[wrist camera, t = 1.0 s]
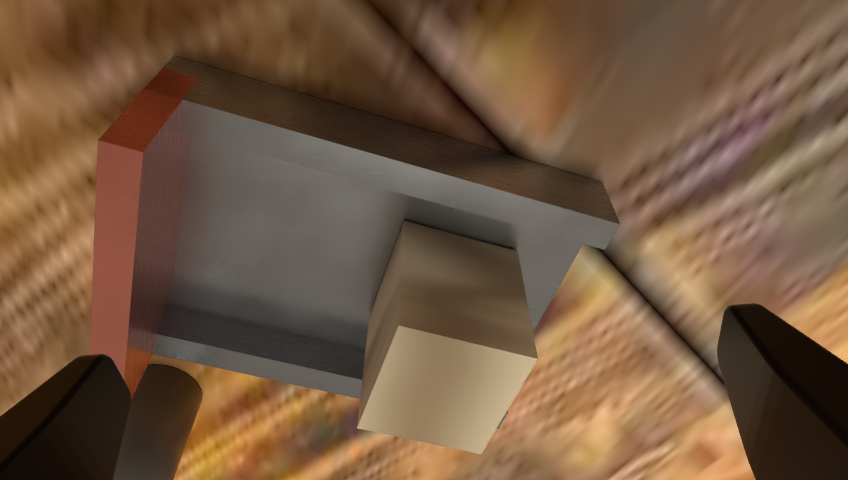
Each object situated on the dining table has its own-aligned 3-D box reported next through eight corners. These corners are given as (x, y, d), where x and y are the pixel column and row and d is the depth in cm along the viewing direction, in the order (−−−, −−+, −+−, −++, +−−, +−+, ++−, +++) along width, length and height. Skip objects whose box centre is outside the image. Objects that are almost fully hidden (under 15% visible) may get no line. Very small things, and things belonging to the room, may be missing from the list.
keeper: (518, 251, 22) (538, 358, 18) (472, 341, 25) (481, 453, 21) (404, 220, 22) (398, 325, 17) (369, 316, 24) (357, 427, 20)
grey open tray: (602, 182, 22) (646, 287, 17) (492, 380, 27) (505, 498, 23) (173, 55, 20) (98, 140, 15) (148, 300, 25) (87, 415, 21)
